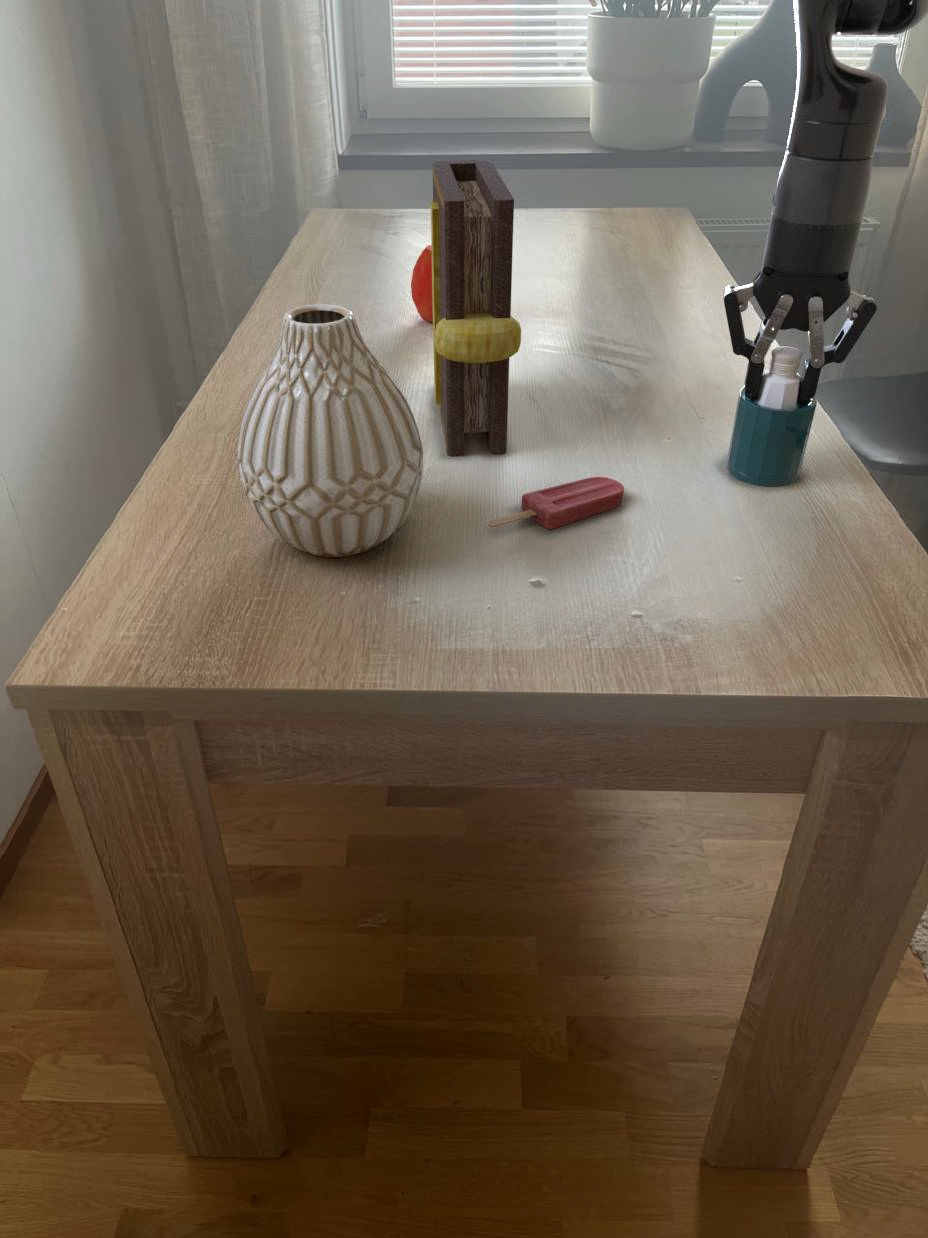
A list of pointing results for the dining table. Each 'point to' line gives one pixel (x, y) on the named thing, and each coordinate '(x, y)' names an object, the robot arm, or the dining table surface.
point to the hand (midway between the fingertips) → (777, 398)
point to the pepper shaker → (781, 380)
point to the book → (472, 301)
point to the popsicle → (567, 502)
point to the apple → (423, 285)
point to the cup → (768, 442)
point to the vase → (328, 439)
